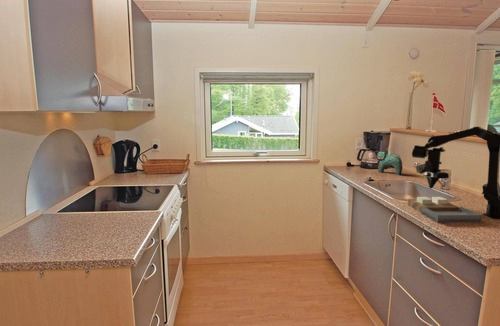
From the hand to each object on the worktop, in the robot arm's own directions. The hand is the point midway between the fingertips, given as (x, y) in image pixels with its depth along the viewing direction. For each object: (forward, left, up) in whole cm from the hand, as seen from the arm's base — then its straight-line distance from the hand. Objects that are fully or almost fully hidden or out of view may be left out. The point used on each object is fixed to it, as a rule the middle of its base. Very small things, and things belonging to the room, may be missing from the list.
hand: (430, 188), depth 170 cm
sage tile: (-8, +8, -6) cm, 13 cm away
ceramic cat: (+85, -18, -9) cm, 87 cm away
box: (-23, +4, -9) cm, 25 cm away
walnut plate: (-9, +4, -9) cm, 13 cm away
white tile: (-8, 0, -6) cm, 10 cm away
